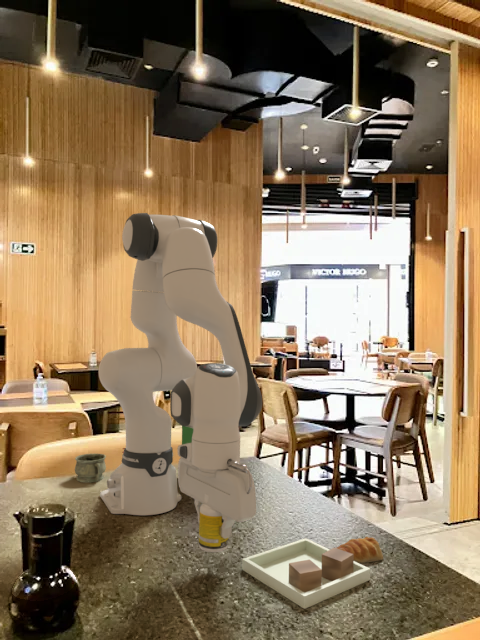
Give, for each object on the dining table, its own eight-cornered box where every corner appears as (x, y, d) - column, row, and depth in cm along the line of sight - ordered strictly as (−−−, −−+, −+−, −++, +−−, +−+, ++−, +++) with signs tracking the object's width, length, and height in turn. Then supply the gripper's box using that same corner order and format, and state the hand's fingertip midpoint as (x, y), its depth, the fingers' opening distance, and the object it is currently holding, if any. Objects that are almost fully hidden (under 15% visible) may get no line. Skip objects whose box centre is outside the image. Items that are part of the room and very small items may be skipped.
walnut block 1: (288, 586, 87) (288, 563, 87) (309, 582, 89) (309, 559, 89) (300, 598, 84) (300, 573, 84) (321, 594, 85) (321, 569, 85)
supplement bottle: (224, 555, 91) (225, 499, 91) (194, 551, 92) (196, 496, 92) (231, 542, 96) (232, 489, 96) (203, 539, 97) (204, 486, 97)
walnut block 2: (321, 577, 91) (321, 554, 91) (333, 569, 94) (334, 547, 94) (341, 585, 88) (341, 561, 88) (353, 576, 91) (353, 554, 91)
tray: (242, 572, 93) (242, 558, 94) (305, 550, 103) (305, 538, 103) (304, 612, 81) (304, 596, 81) (370, 583, 90) (370, 568, 90)
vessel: (114, 480, 148) (114, 458, 148) (84, 486, 142) (85, 463, 142) (95, 471, 157) (95, 450, 157) (66, 476, 151) (67, 455, 151)
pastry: (344, 572, 95) (345, 551, 95) (325, 557, 101) (325, 537, 101) (386, 563, 99) (386, 543, 99) (364, 549, 105) (365, 530, 105)
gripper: (265, 464, 87) (264, 546, 87) (200, 440, 104) (198, 509, 104) (236, 470, 84) (234, 556, 84) (172, 444, 100) (171, 516, 100)
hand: (214, 530), depth 94 cm, fingers closed on supplement bottle, 5 cm apart
